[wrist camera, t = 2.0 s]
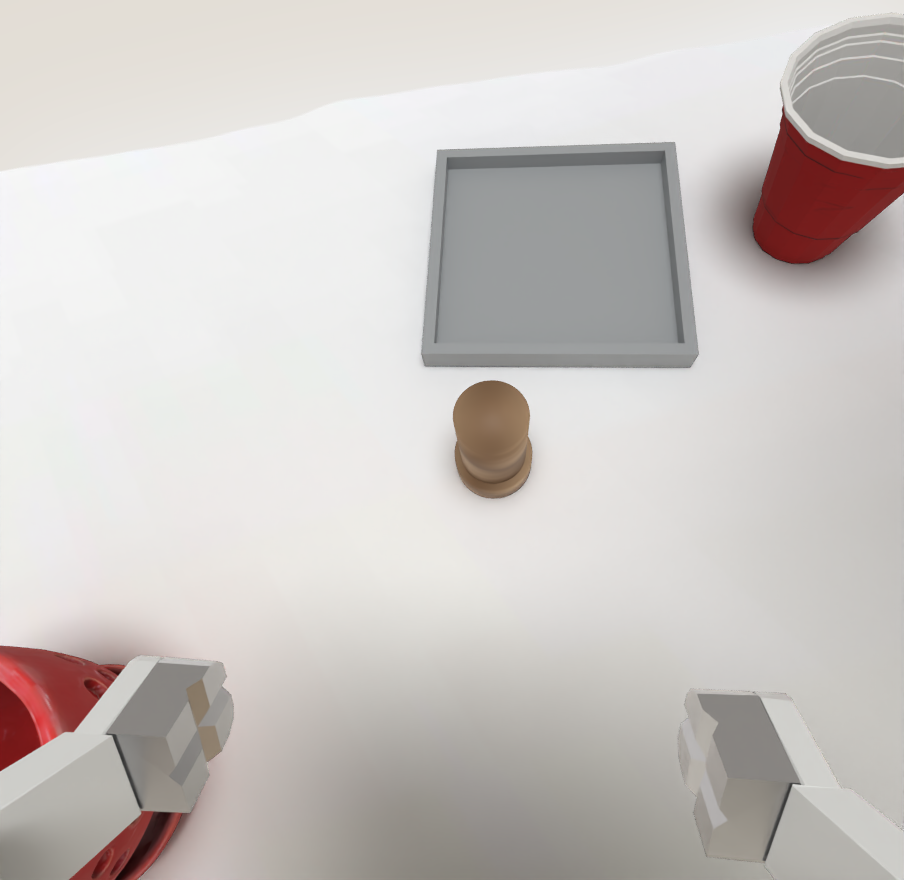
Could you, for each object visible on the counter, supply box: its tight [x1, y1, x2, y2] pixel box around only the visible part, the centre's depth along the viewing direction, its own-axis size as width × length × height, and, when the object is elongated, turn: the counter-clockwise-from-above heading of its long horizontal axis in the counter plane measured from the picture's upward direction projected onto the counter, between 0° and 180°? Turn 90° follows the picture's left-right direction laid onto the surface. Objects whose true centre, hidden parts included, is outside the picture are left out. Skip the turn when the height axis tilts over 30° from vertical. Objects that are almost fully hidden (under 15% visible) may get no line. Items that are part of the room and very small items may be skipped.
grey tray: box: [422, 142, 699, 367], centre depth 42 cm, size 18×18×2 cm
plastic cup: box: [753, 13, 904, 263], centre depth 36 cm, size 11×11×12 cm
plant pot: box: [0, 646, 182, 880], centre depth 27 cm, size 13×13×12 cm
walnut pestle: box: [453, 381, 532, 498], centre depth 34 cm, size 5×5×8 cm
